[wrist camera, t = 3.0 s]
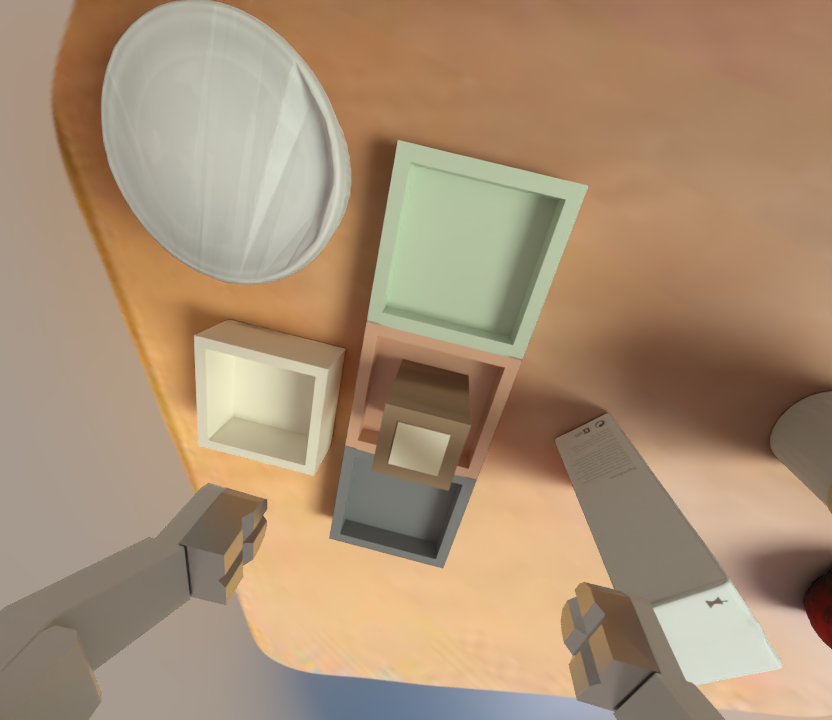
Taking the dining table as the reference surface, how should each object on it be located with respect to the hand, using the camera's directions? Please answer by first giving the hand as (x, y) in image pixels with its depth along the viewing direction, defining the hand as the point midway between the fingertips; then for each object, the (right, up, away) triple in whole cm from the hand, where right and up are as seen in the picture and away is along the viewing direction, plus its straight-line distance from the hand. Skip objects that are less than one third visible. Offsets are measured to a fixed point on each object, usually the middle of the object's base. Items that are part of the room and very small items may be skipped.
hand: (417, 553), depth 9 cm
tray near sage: (+3, +11, +12) cm, 17 cm away
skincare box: (+13, -2, +16) cm, 21 cm away
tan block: (+1, +3, +15) cm, 16 cm away
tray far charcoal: (-1, -6, +20) cm, 21 cm away
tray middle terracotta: (+1, +3, +16) cm, 16 cm away
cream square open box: (-10, +3, +17) cm, 20 cm away
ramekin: (-8, +16, +12) cm, 22 cm away
